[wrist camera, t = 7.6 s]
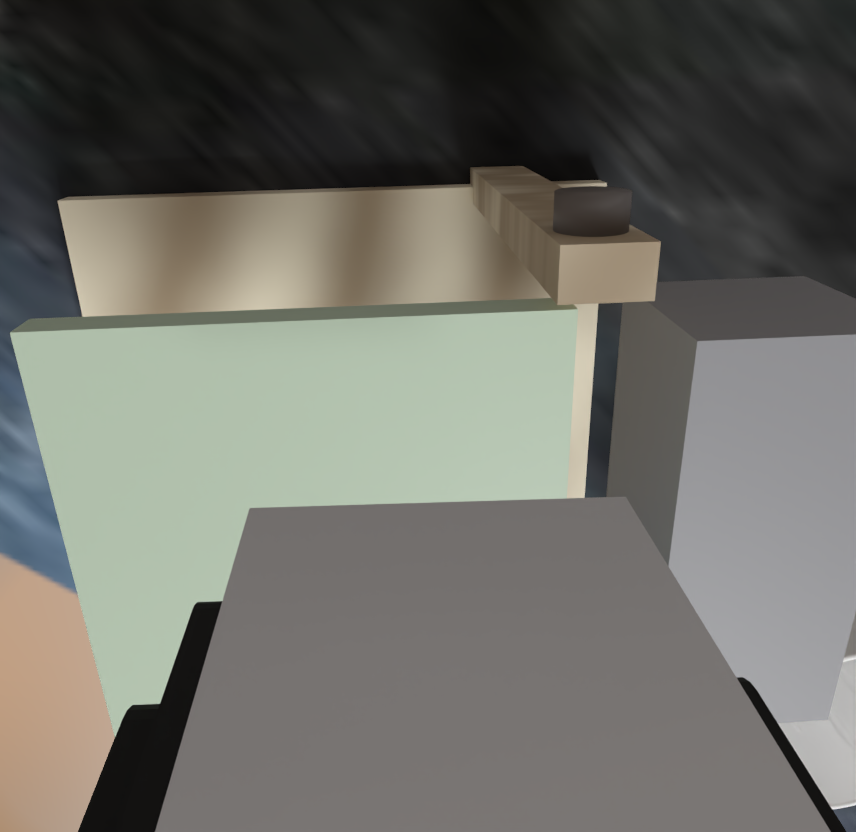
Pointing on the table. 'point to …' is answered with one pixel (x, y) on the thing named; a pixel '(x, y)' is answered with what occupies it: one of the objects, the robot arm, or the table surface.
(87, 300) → the frame
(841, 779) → the white cup
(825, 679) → the trapdoor
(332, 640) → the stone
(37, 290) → the table surface
